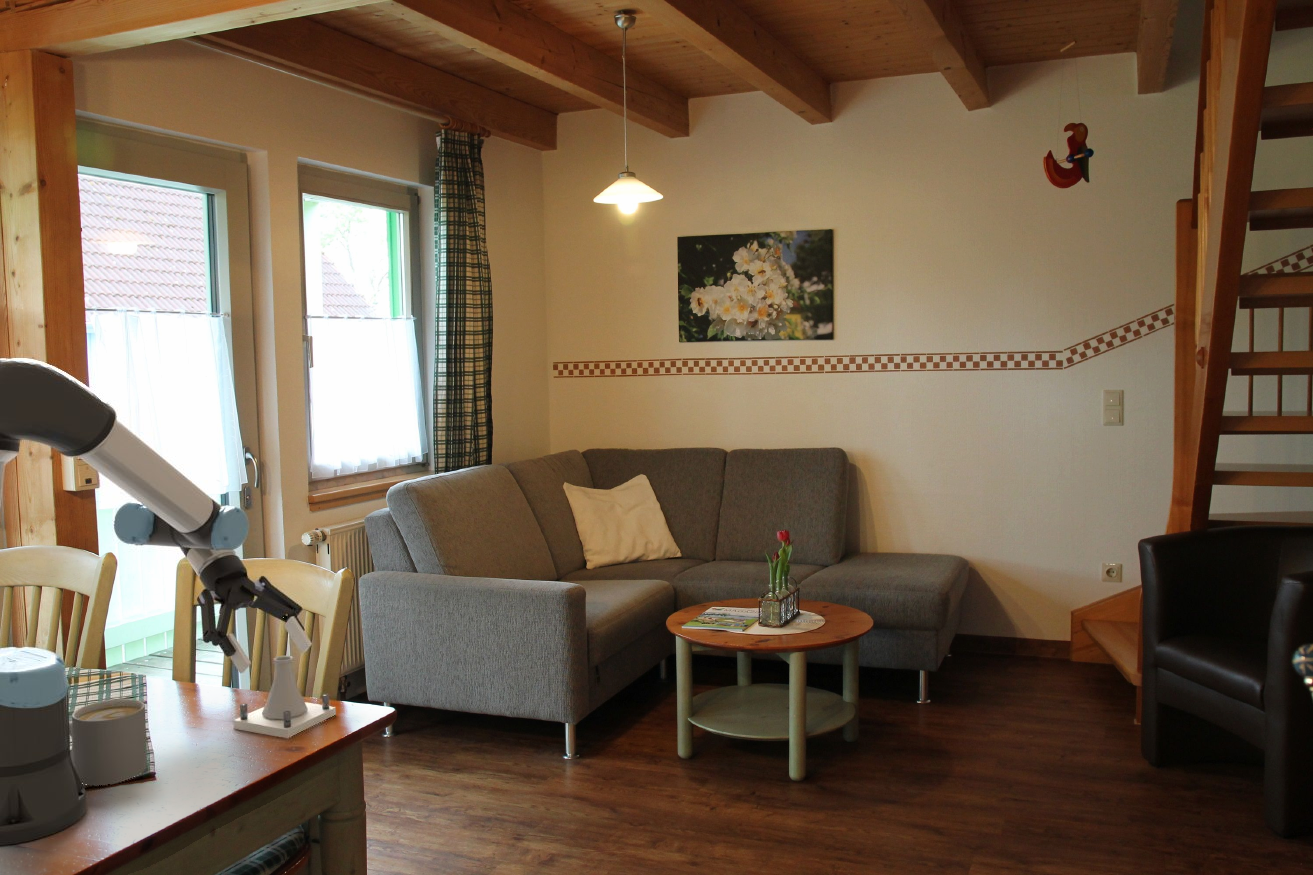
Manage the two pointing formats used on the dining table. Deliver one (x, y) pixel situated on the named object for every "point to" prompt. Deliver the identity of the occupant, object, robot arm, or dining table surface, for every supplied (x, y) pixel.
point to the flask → (284, 691)
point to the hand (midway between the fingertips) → (277, 658)
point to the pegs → (285, 714)
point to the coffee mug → (109, 741)
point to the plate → (276, 726)
